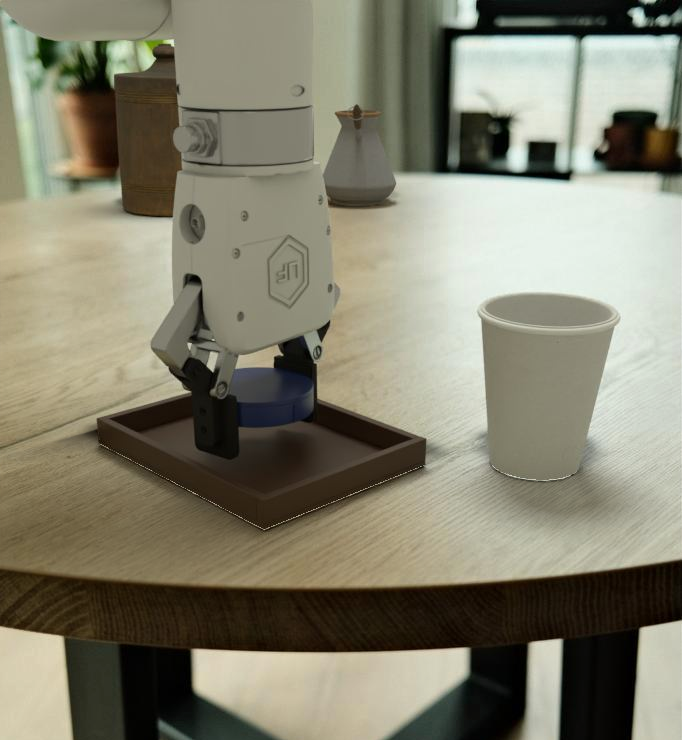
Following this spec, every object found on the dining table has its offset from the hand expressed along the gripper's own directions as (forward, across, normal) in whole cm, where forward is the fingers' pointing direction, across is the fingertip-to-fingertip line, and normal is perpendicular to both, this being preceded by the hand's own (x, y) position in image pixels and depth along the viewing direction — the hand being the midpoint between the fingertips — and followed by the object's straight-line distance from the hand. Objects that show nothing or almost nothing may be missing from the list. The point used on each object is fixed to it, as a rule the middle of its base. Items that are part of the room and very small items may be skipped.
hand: (258, 432), depth 65 cm
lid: (-3, 0, 0) cm, 3 cm away
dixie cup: (+2, +10, -15) cm, 18 cm away
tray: (+2, 0, 0) cm, 2 cm away
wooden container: (+2, +63, +71) cm, 95 cm away
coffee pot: (+2, +80, +50) cm, 94 cm away
